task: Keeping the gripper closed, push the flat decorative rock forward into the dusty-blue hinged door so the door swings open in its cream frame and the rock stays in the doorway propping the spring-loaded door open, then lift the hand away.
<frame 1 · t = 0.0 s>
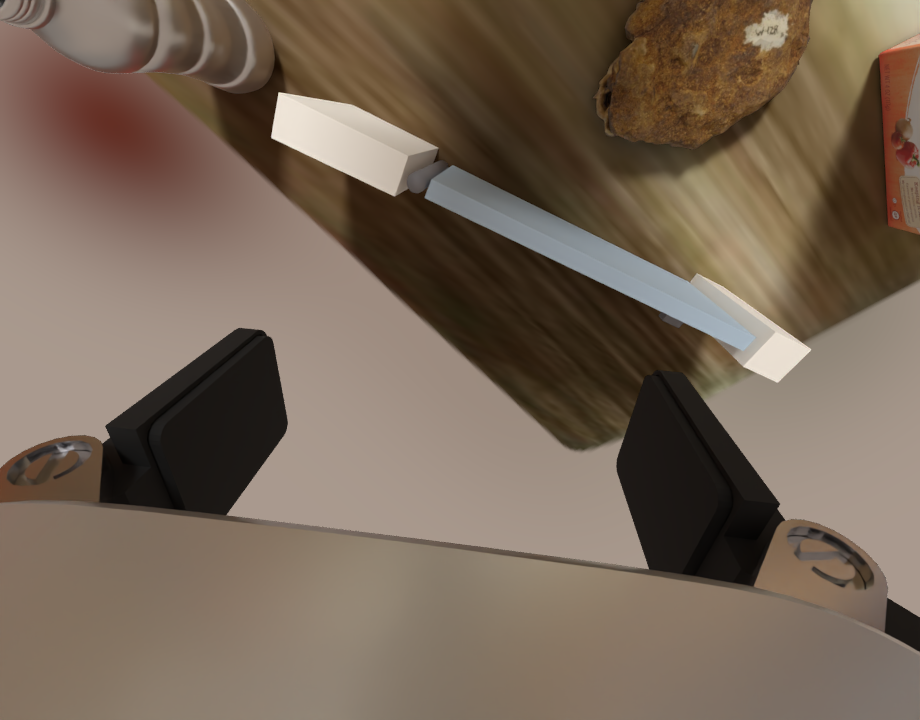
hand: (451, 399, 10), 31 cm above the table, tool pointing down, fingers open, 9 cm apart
cracker box: (918, 131, 32), on the table
door frame: (571, 230, 38), on the table
door: (569, 253, 32), point 7 cm above the table, hinge at 0.0°
plastic bottle: (245, 48, 34), on the table
decorative rock: (687, 63, 32), on the table
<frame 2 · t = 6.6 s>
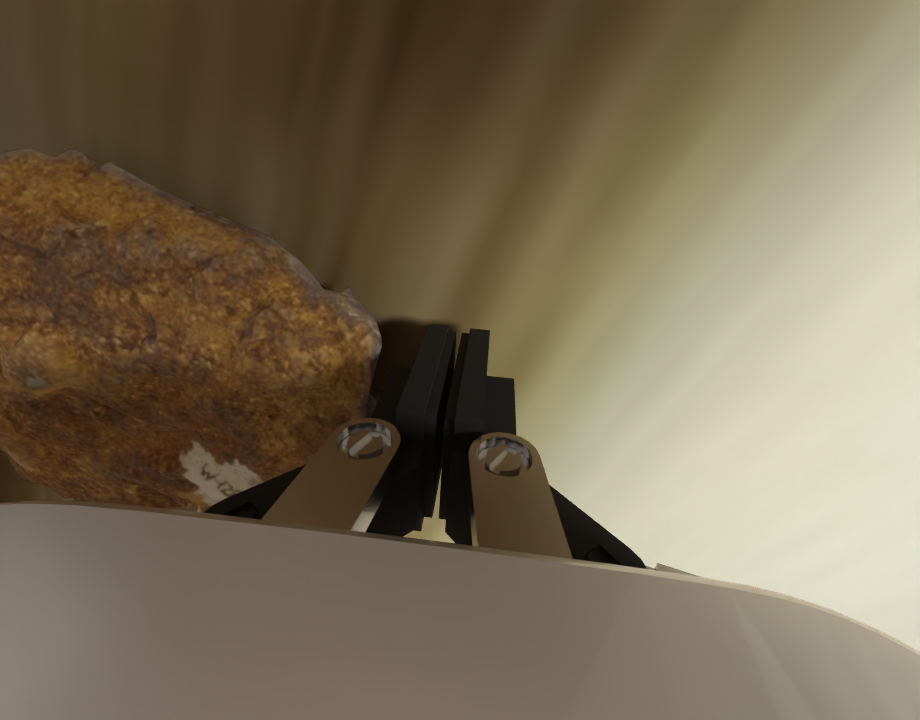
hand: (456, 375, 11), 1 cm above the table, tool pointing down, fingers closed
decorative rock: (179, 345, 14), on the table, touching gripper
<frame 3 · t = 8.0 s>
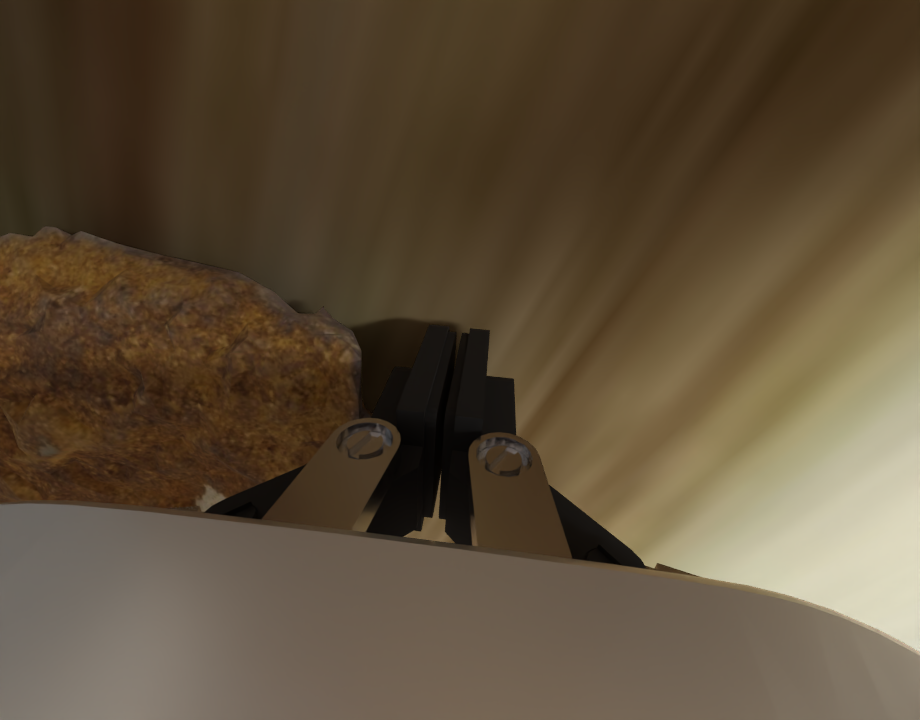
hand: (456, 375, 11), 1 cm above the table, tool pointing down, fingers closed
decorative rock: (187, 395, 14), on the table, touching gripper
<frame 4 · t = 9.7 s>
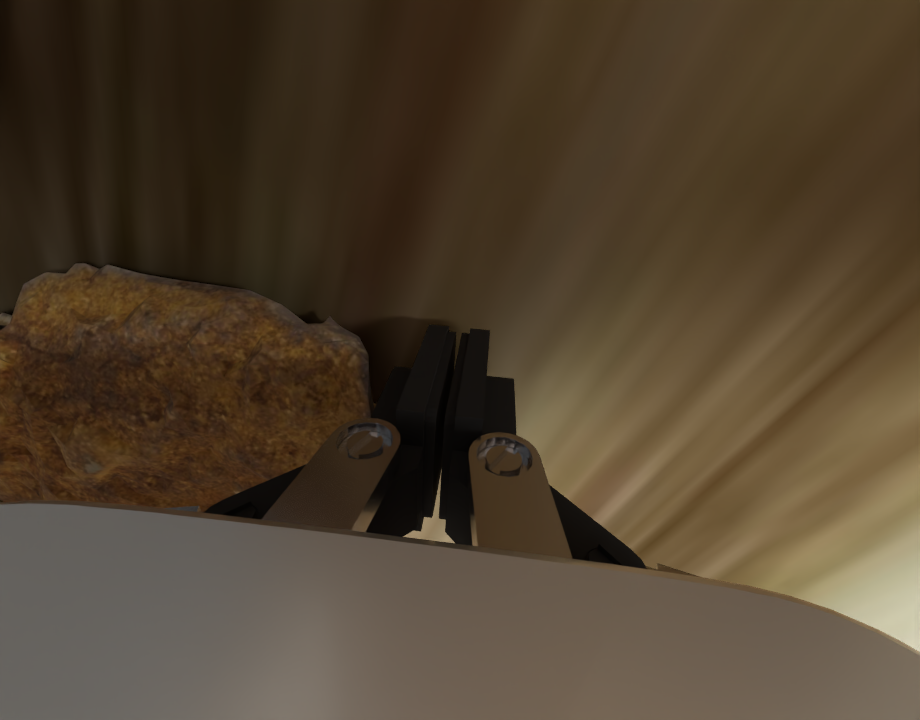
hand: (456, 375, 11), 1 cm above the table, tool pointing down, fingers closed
decorative rock: (214, 409, 15), on the table
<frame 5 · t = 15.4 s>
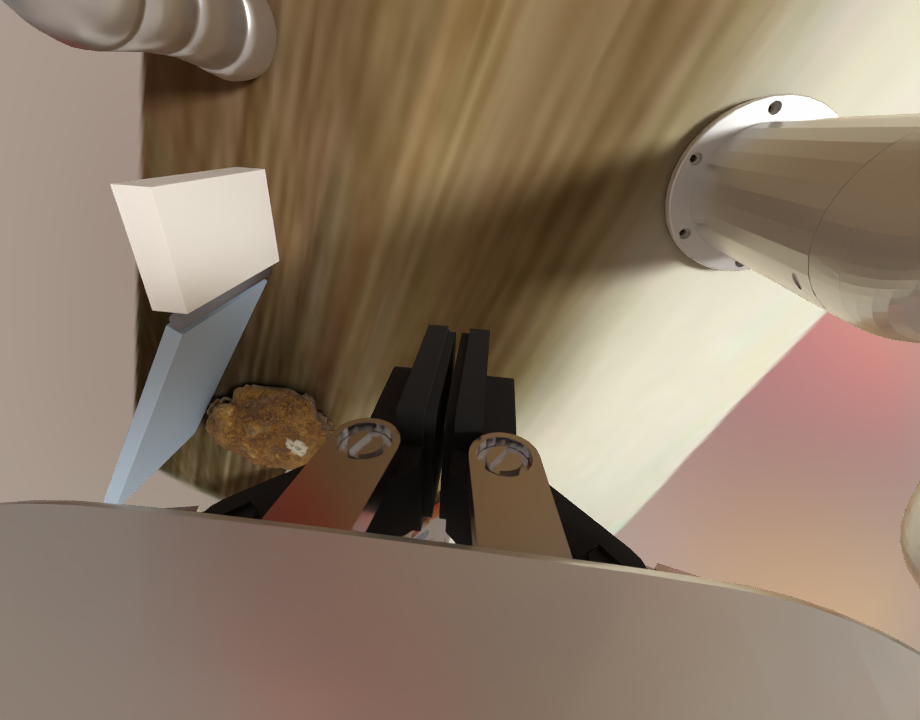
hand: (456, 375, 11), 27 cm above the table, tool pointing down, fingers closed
cracker box: (437, 521, 55), on the table
door frame: (287, 382, 46), on the table
door: (178, 384, 39), point 7 cm above the table, hinge at 31.8°
plastic bottle: (246, 31, 31), on the table
decorative rock: (277, 418, 49), on the table
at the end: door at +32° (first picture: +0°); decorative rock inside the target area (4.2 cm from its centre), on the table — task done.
